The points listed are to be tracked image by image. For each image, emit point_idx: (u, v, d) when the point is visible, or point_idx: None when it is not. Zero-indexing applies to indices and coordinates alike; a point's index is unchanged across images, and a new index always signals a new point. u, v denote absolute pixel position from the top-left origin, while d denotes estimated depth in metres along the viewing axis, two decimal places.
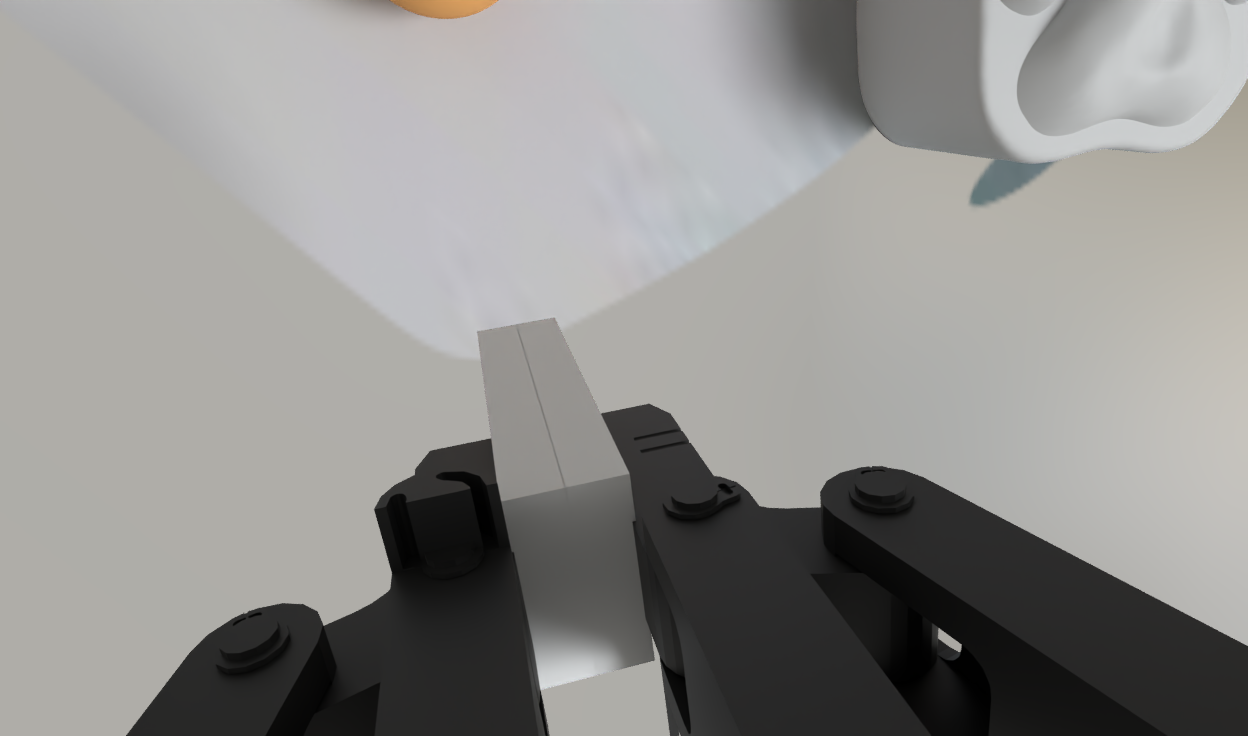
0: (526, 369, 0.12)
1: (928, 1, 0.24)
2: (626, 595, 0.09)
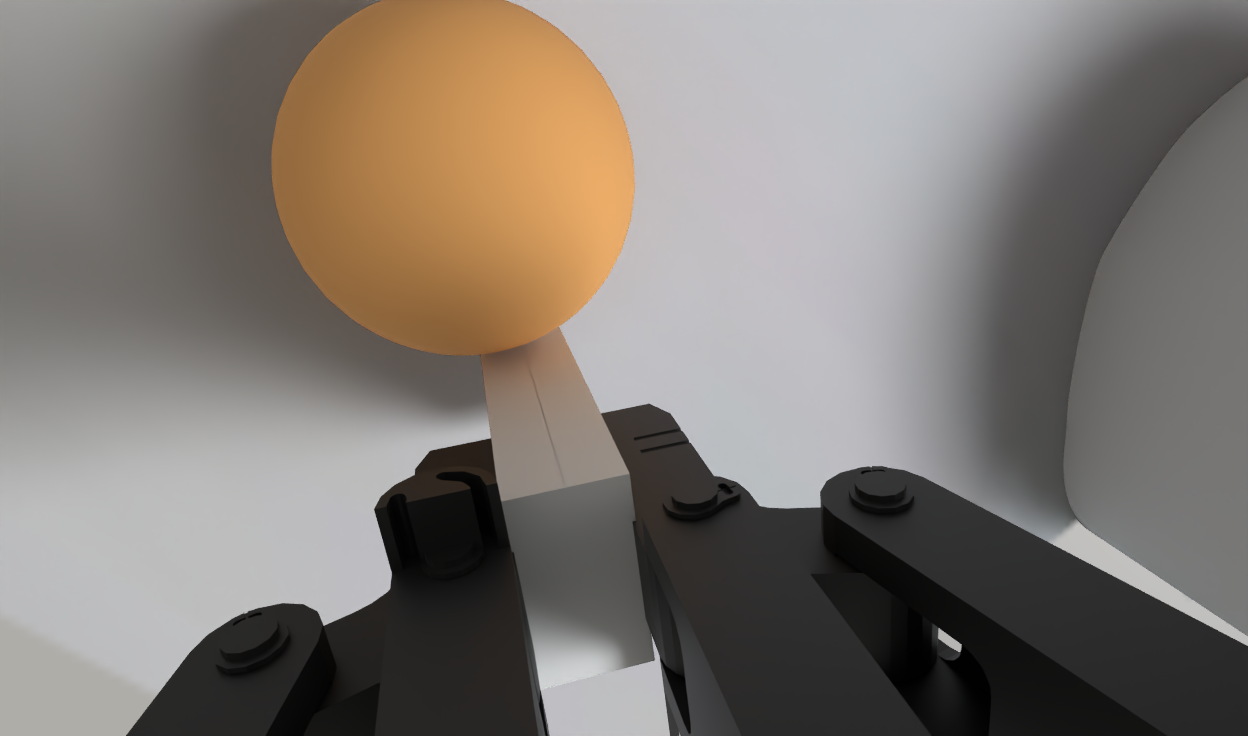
0: (526, 369, 0.12)
1: (1239, 471, 0.16)
2: (626, 595, 0.09)
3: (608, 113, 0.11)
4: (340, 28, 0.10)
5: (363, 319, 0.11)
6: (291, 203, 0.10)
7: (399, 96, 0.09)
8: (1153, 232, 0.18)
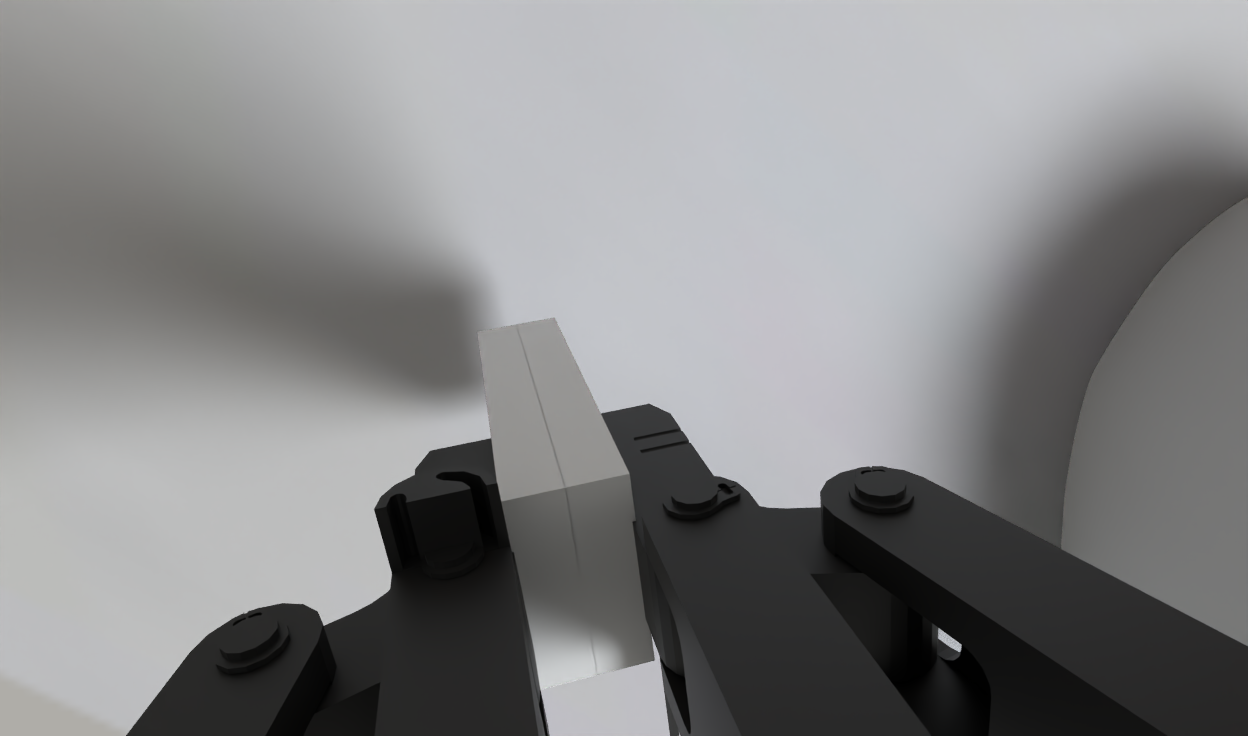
0: (526, 369, 0.12)
1: (1216, 587, 0.17)
2: (626, 595, 0.09)
3: None
4: None
5: None
6: None
7: None
8: (1139, 357, 0.19)
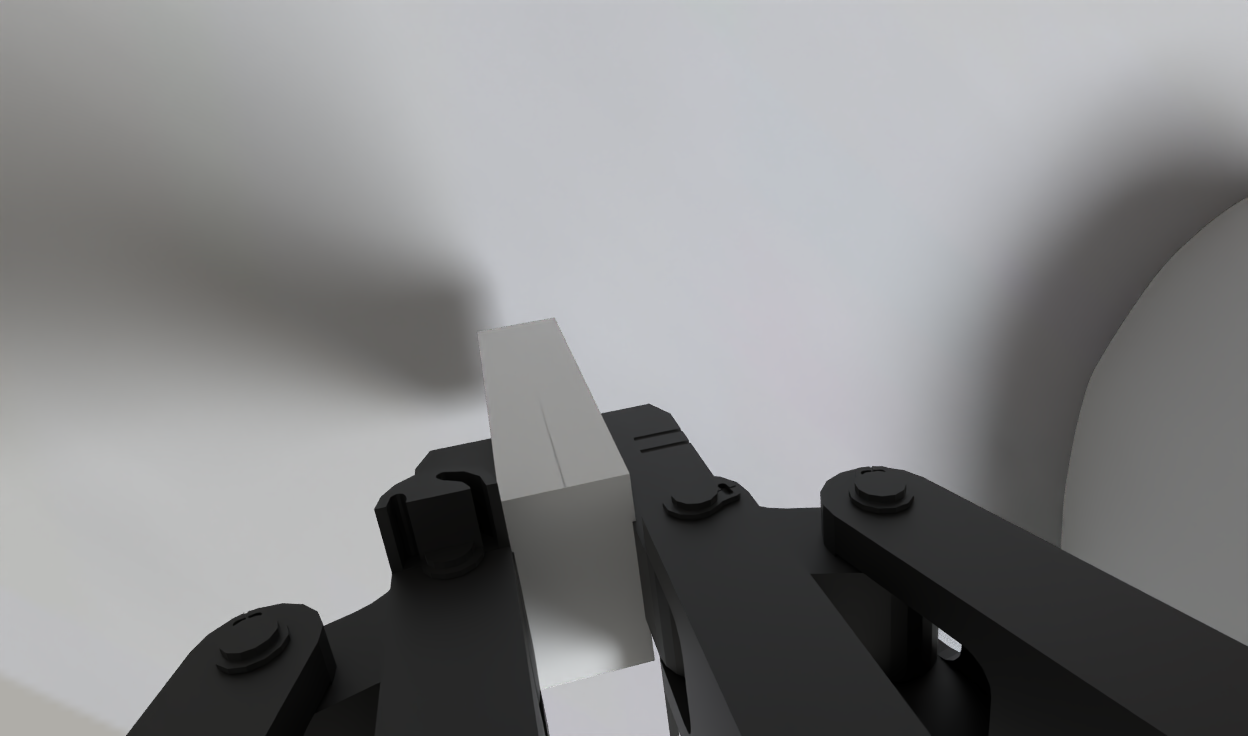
0: (526, 369, 0.12)
1: (1215, 588, 0.17)
2: (626, 595, 0.09)
3: None
4: None
5: None
6: None
7: None
8: (1138, 357, 0.19)
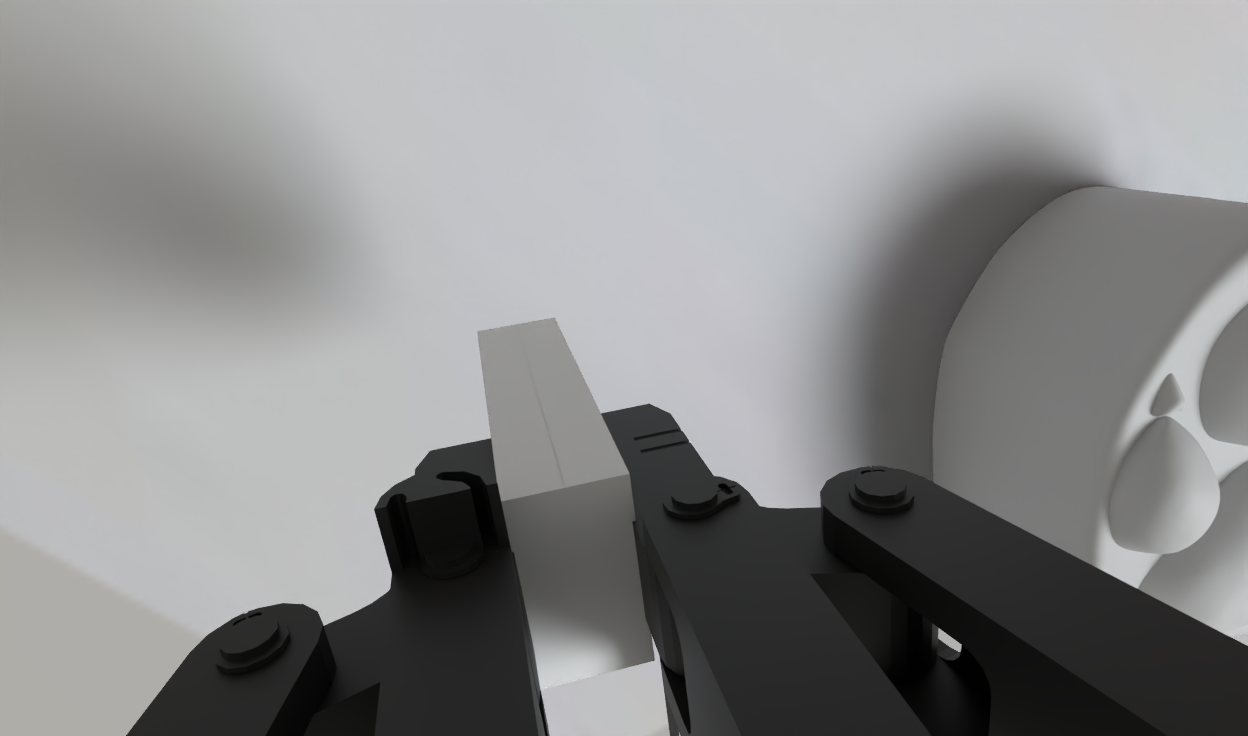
0: (526, 369, 0.12)
1: (1027, 495, 0.22)
2: (626, 595, 0.09)
3: None
4: None
5: None
6: None
7: None
8: (977, 322, 0.24)
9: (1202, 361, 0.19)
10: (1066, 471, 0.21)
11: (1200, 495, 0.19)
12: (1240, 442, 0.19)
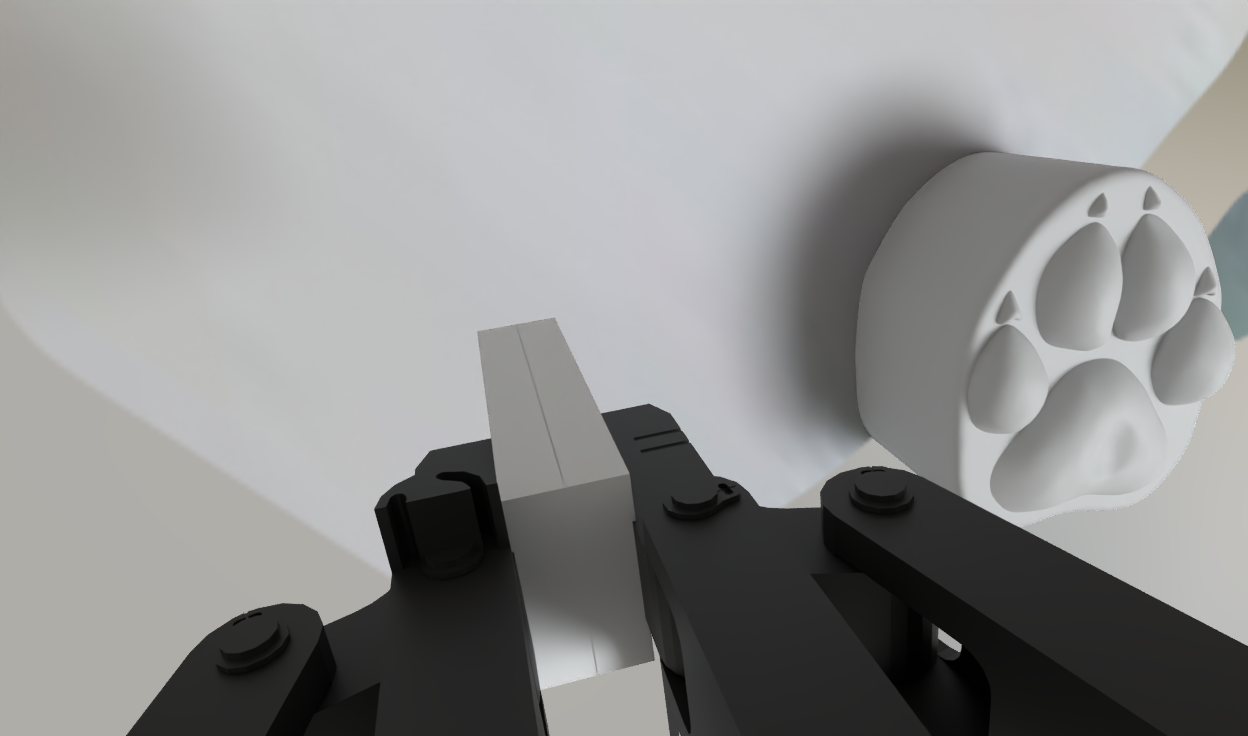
0: (526, 369, 0.12)
1: (916, 395, 0.28)
2: (626, 595, 0.09)
3: None
4: None
5: None
6: None
7: None
8: (886, 261, 0.30)
9: (1035, 282, 0.25)
10: (939, 372, 0.27)
11: (1029, 383, 0.24)
12: (1067, 346, 0.25)
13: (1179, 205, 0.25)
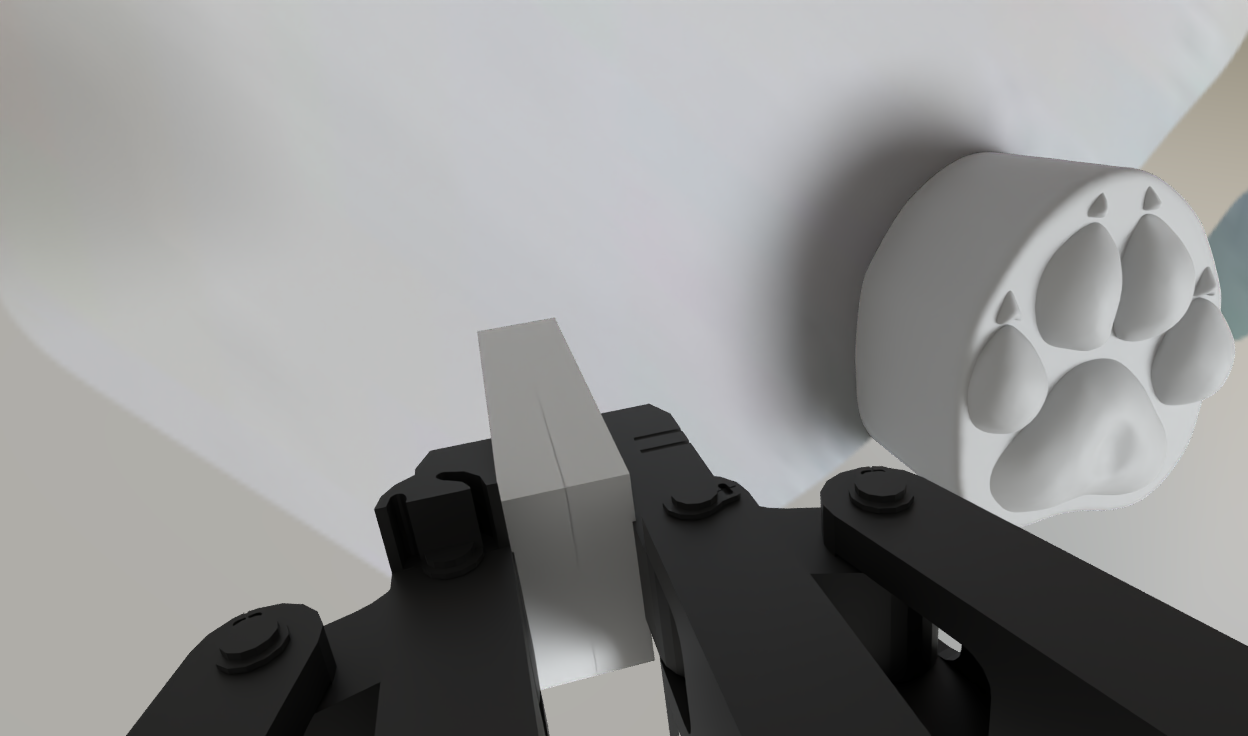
0: (526, 369, 0.12)
1: (916, 395, 0.28)
2: (626, 595, 0.09)
3: None
4: None
5: None
6: None
7: None
8: (886, 261, 0.30)
9: (1035, 282, 0.25)
10: (939, 372, 0.27)
11: (1029, 383, 0.24)
12: (1067, 346, 0.25)
13: (1179, 205, 0.25)
